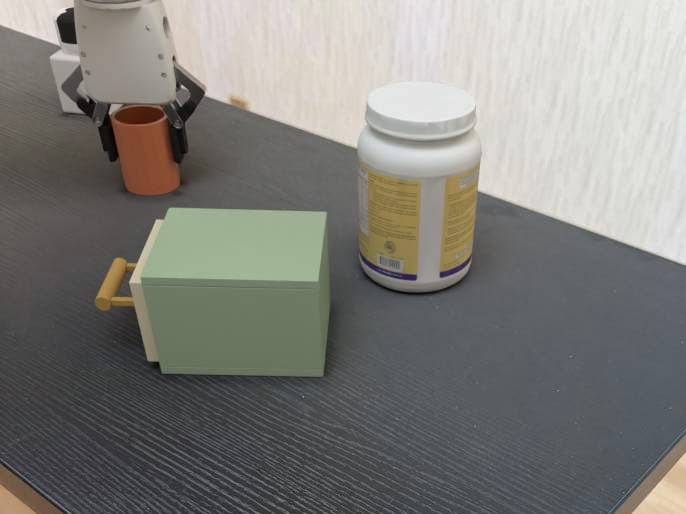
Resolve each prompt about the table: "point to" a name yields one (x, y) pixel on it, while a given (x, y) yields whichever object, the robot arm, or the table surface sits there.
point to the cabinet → (239, 292)
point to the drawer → (114, 282)
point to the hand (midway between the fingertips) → (147, 157)
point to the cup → (145, 149)
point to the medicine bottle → (68, 58)
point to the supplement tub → (418, 185)
